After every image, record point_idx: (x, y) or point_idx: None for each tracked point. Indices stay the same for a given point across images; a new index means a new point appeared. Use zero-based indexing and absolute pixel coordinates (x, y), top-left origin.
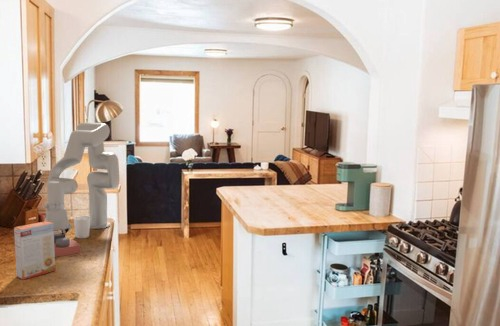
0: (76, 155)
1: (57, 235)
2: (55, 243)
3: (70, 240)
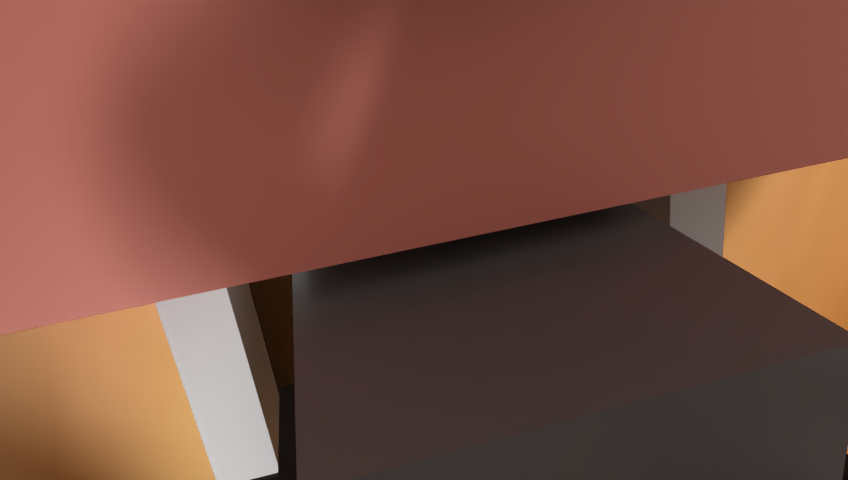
0: None
1: (642, 458)
2: (629, 113)
3: (33, 323)
